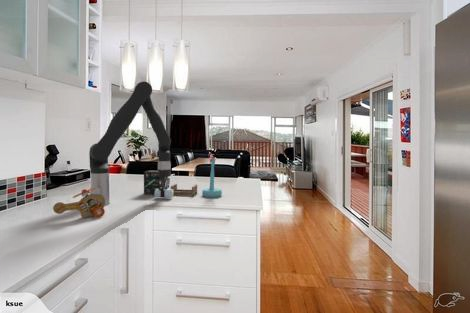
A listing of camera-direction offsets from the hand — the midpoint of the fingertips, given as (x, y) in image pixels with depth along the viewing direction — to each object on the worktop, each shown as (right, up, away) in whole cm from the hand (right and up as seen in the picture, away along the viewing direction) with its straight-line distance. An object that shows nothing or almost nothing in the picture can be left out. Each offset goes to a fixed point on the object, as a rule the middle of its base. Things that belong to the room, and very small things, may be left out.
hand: (164, 196), depth 173 cm
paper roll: (0, +2, 0) cm, 2 cm away
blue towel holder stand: (+28, -1, +11) cm, 30 cm away
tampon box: (-10, 0, +16) cm, 19 cm away
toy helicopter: (-26, -4, -43) cm, 51 cm away
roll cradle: (+10, -1, +13) cm, 17 cm away
